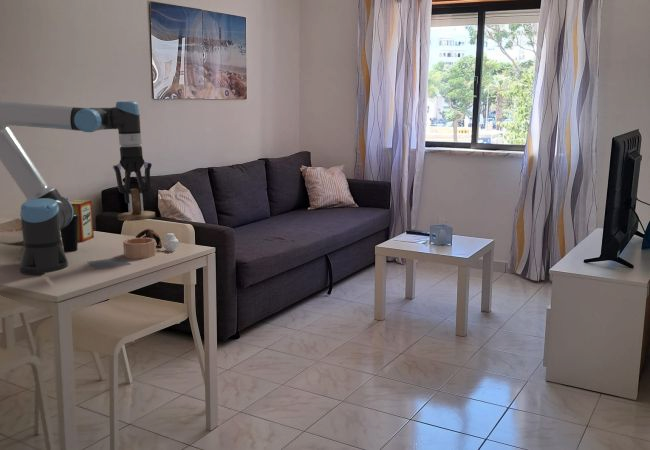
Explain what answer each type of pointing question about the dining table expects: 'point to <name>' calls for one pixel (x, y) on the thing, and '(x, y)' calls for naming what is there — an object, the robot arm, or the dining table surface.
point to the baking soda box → (84, 219)
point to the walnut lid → (136, 209)
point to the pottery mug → (150, 236)
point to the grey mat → (108, 263)
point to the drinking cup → (70, 234)
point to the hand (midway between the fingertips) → (136, 211)
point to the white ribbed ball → (170, 242)
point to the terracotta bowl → (139, 248)
